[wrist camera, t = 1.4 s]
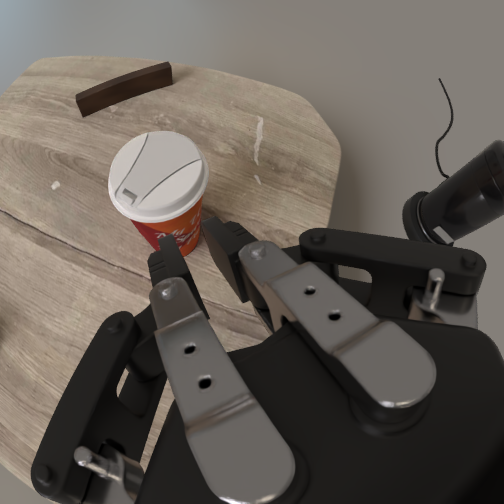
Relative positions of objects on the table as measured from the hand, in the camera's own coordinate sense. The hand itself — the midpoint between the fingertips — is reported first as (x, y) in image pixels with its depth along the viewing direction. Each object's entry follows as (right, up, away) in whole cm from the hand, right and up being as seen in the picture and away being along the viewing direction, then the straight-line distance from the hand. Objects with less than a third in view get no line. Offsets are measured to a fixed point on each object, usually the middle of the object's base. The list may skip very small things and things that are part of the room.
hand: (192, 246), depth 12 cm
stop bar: (-18, +25, +24) cm, 39 cm away
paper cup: (-6, +2, +19) cm, 20 cm away
